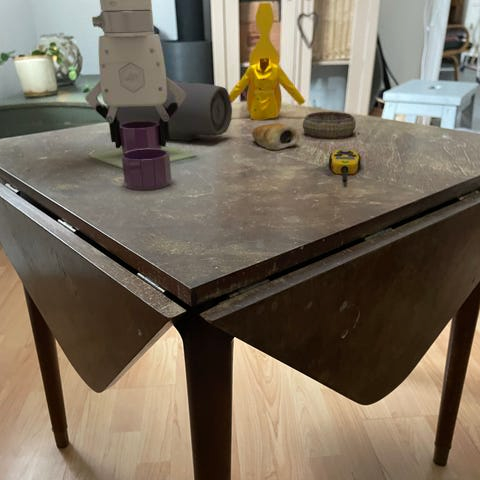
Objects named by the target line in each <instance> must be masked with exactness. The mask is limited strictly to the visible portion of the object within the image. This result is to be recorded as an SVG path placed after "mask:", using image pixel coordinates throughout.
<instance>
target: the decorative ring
mask: <svg viewBox="0 0 480 480" xmlns="http://www.w3.org/2000/svg"><path fill="white" fill-rule="evenodd" d="M356 125H357V123H356V119H355V117H354V116H353V115H352V114H350V113H346V112H340V111H319V112H312V113H309V114H307V115H306V116H305V117H304V119H303V121H302V130H303V131H304V133H305V134H306V136H309V137H312V138H313V137H314V138H318V139H342V138H347V137H349V136H351V135H353V133H354V131H355V129H356Z"/></svg>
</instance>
